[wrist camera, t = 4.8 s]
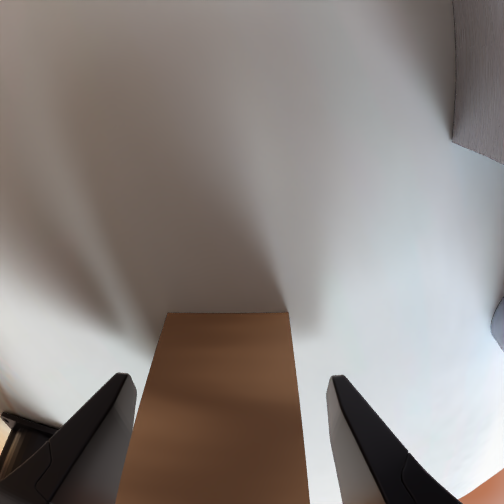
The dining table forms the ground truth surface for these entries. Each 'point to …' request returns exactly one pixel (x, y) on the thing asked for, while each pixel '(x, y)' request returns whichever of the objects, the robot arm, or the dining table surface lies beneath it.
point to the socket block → (479, 77)
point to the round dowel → (498, 325)
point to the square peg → (219, 415)
